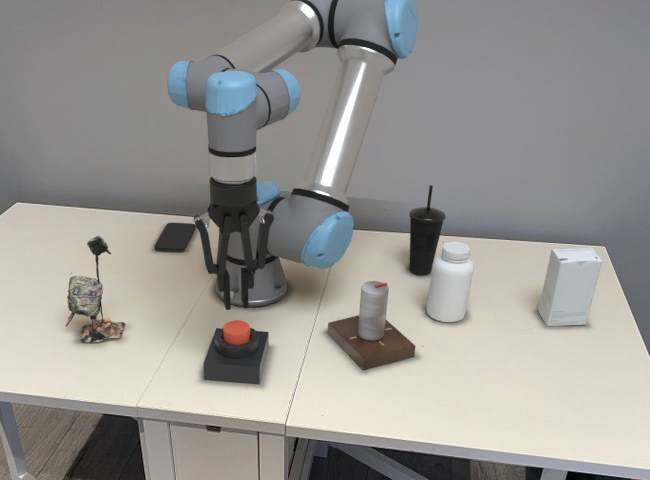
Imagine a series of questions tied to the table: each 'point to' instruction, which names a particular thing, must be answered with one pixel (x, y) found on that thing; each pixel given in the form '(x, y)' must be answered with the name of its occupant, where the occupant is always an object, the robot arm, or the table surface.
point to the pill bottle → (450, 283)
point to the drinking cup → (424, 237)
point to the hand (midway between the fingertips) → (236, 304)
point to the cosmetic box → (569, 286)
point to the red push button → (236, 332)
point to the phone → (175, 237)
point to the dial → (373, 310)
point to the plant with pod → (91, 301)
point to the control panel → (370, 344)
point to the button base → (236, 358)
